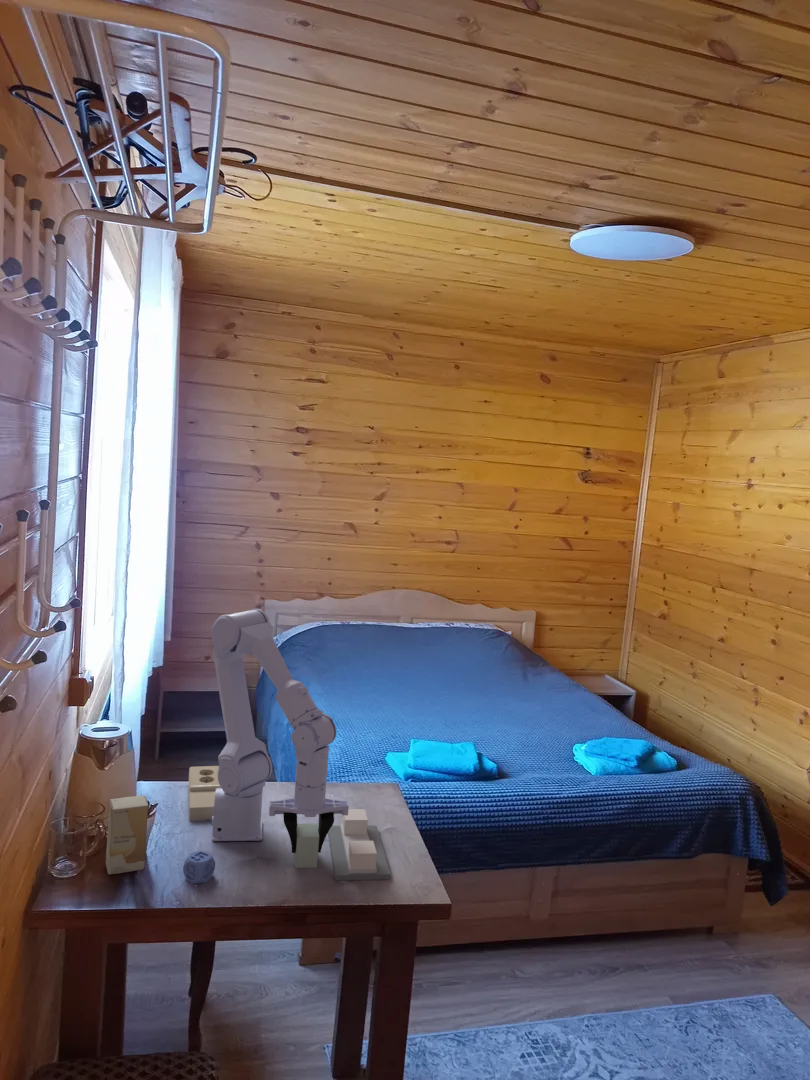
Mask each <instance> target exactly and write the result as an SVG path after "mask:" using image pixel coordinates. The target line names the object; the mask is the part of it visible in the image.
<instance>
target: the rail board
mask: <svg viewBox="0 0 810 1080" xmlns="http://www.w3.org/2000/svg"><path fill="white" fill-rule="evenodd" d="M368 823H369V821H368V815H367V811H366V809H365V808H363V809H362V808H361V809H359V808H355V809H354V808H353V809H351V808H350V809H349V808H348V815H342V814H341V823H340V825H332V827H331V828H330V830H329V831H328V833H327V837H328V843H329V849H330V855H331V862H332V863H331V864H332V869H333V876H334V881H368V880H369V881H371V880H374V881H375V880H378V881H379V880H391V872H390V869H389V865H388V860H387V857H386V854H385V851H384V847H383V842H382V840H381V837H380V836H381V835H380V833H379V829H378V827H377V826H378V825H368Z"/></svg>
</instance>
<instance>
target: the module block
mask: <svg viewBox="0 0 810 1080" xmlns="http://www.w3.org/2000/svg"><path fill="white" fill-rule="evenodd" d="M318 826H319V823H297V832H296V853H293V855H294V868H295V869H303V868H305V869H307V868H309V869H310V868H317V867H318V858H319V853H318V846H319V832H318Z"/></svg>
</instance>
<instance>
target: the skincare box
mask: <svg viewBox="0 0 810 1080" xmlns="http://www.w3.org/2000/svg"><path fill="white" fill-rule="evenodd" d="M108 807H109V808H108V823H107V834H106V835H107V836H106V837H107V838H106V852H105V867H106V871H107V874H108V875H114V874H122V873H130V872H134V871H135V872H136V871H142V870H144V869H145V860H146V849H147V848H146V847H147V846H146V845H147V834H148V833H147V831H148V830H147V829H148V814H149V803H148V799H147V796H146V795H135V796H124V797H119V798H118V797H117V798H116V797H115V798H109V804H108Z"/></svg>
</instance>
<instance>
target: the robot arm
mask: <svg viewBox="0 0 810 1080" xmlns="http://www.w3.org/2000/svg"><path fill="white" fill-rule="evenodd" d="M210 631H211V637H212V645H213V652H212V655H213V663H214V668H215V675H216V682H217V688H218V694H219V700H220V701H219V702H220V705H221V707H220V708H221V712H222V718H223V725H224V731H225V737H226V744H225V746H223V748H222V750H221V752H220V754H219V755H218V757H217V758H218V759H217V760H218V761H217V762H218V766H219V769H218V781H219V784H220V786H221V788H216V790H215V801H214V816H212V820H211V826H212V836H211V837H212V839H211V840H212V841H213V842H239V841H241V842H243V841H244V842H247V841H248V842H249V841H255V842H257V841H258V842H259V841H262V840H263V819H262V807H263V793H264V792H263V790H264V789H263V788H264V787H266V781H267V780H268V779H269V778H270V777H271V775H272V774H273V762H272V759H271V758H270V756H269V754H268V751H267V748H266V744H265V742H263V741H261V740H260V739H259V738H257V737H256V735H255V727H254V722H253V714H252V709H251V704H250V698H249V697H250V696H249V690H248V685H247V678H246V672H245V665H244V658H245V657H246V656H247V655H249V656H254V657H255V659H256V661H257V662H258V663H259V665H260V666H261V667H262V669H263V670H264V672H265V673H266V675H267V676H268V678H269V679H270V680H271V682H272V683H273V685H274V687H275V689H276V695H275V700H276V702H277V704H278V706H279V707H280V709H281V711H282V713H283V714H284V715H285V717H286V720H287V721H288V723H289V724H290V726H291V728H292V729H293V732H292V733H291V742H292V745H293V747H294V750H295V753H294V754H295V757H296V768H295V782H294V796H293V798H287V799H282V800H274V801H273V800H270V801H269V808H268V815H269V817H275V816H276V815H283V824H284V826H285V828H286V831H287V833H288V836H289V839H290V845H291V854H294V853H296V832H297V824H298V815H303V816H304V817H306V818H315V817H317V815H318V832H319V846H318V854H319V853H321V852H322V849H323V848H322V847H323V846H324V843H325V840H326V837H327V836H328V831H329V830H330V828H331V827H332V826H334V824H335V816H334V815H337V814H339V815H340V814H341V816H342V815H348V809H349V807H350V806H349V802H348V800H338V799H331V798H326V795H327V793H326V792H327V790H326V789H327V780H328V765H329V754H330V753H329V751H330V744H332V743H333V742H334V741H335V739H336V737H337V727H336V724H335V722H334V719H333V718H332V716H330V715H328V714H326V713H324V712H323V711H322V710H320V709H318V707H317V705H316V703H315V702H314V699H313V698H312V696H311V695H310V693H309V689H308V687H307V686H306V685H304V683H303V682H302V681H299V680H296V679H294V678H293V677H292V675H291V672H290V670H289V667H287V664H286V662H285V660H284V658H283V656H282V654H281V652H280V650H279V647H278V646H277V644H276V641H275V639H274V637H273V633H274V626H273V624H272V623H271V622H270V620H269V618H268V616H267V614H266V613H265V612H264V611H263V610H262V609H259V608H252V609H249V610H245V611H241V612H235V613H230V614H229V613H228V614H222V615H220V616H218V617H217V618H216V620H215V621H214V622H213V624H212V625H211V627H210Z"/></svg>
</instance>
